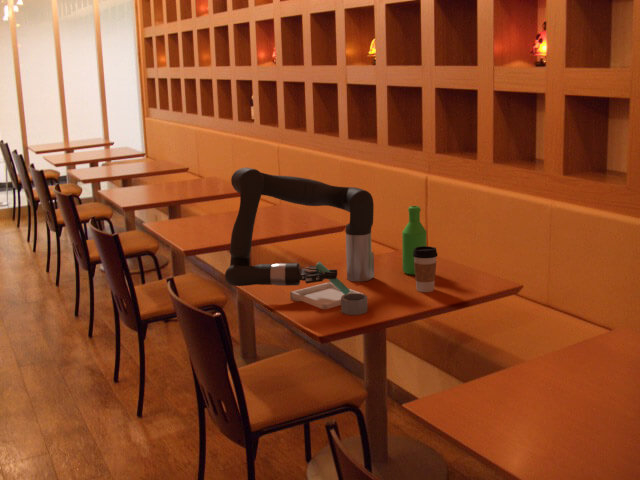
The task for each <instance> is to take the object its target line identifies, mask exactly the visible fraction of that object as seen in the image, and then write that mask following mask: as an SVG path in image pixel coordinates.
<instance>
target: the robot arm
mask: <svg viewBox="0 0 640 480" xmlns="http://www.w3.org/2000/svg"><path fill="white" fill-rule="evenodd" d="M230 182H231V186H232V187H233V189H234V190H235V191H236V192H237V194H238V193H239V196H240V199H239V201H240V202H239V209H238V212H237V216H236V219H235V221H234V224H233V226H232V231H231V237H230V245H229V254H230V264H229V267H228V268H227V269H226V271H225V273H224V278H225V281H226V282H227V283H228V284H229V285H230V286H232V287H233V286H234V287H244V286H246V287H247V286H254V285H255V286H256V285H260V286H261V285H262V286H264V285H265V286H278V287H279V286H280V287H281V286H283V287H284V286H287V287H288V286H291V287H292V286H295V287H296V286H297V287H298V286H299V285H300V283H301V281H303V282H305V284H306V285H307V284H313V283H321V282H323V281H324V280H328V279H336V278H338V269H328V270H329V271H330V272H320V271H319V270H318V269H316V268H315V266H316V265H308V266H306V267H304V268H301V265H300V263H299V262H278V263H265V264H264V263H260V264H259V263H258V264H256V265H251V261H250V260H251V258H250V257H251V251H252V243H253V235H254V229H255V228H254V227H255V223H256V217H257V212H258V209H259V205H260V202H261V197H262V196H267V197H270V198H271V197H272V198H274V199H277V200H280V201H284V202H287V203H292V204H295V205H300V206H301V205H302V206H308V207H322V206H323V207H324V206H326V207H327V206H329V207H333V208H337V209H339V210H340V209H341V210H344V211H346V212H348V213H349V223H347V224H346V225H345V254H346V255H345V257H346V280H348V281H351V282H355V283H357V282H359V283H361V282H368V281H370V280H372V279H373V278H375V253H374V252H373V250H372V249H373V248H372V227H373V226H374V225H373V224H374V209H375V208H374V207H375V206H374V198H373V196H372V194H371V193H370V192H369V191H367V190H365V189H363V188H359V187H351V186H350V187H349V186H339V185H337V186H336V185H330V184H328V183H324V182H322V181H319V180H314V179H310V178H305V177H300V176H299V177H298V176H290V175H288V176H287V175H274V174H268V173H264V172H261V171H259V170H258V169H256V168H252V167H242V168H239V169H237V170H235V171H234V172H233V173H232V176H231V178H230Z"/></svg>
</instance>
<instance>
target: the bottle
mask: <svg viewBox="0 0 640 480" xmlns="http://www.w3.org/2000/svg"><path fill="white" fill-rule="evenodd" d="M421 211H422V209H421V207H420V206H418V205H410V206H409V207H408V209H407V212H408V223H407V224H406V226H405V227H404V228H403V230H402V232H401V233H402V237H401V238H402V271H403V273H405V274H406V275H410V276H411V275H412V276H415V267H414V256H413V252H414V248H416V247H421V246H428V245H427V230H426V228H425V226H423V224H422V222H421V219H420V218H421V213H420V212H421Z"/></svg>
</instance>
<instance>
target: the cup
mask: <svg viewBox="0 0 640 480" xmlns="http://www.w3.org/2000/svg"><path fill="white" fill-rule="evenodd" d="M361 293H362V292H360V293H350V294H346V295H342V297H341V305H340V309H341V310H340V311H341V312H340V313H342V314H344V315H347V316H361V315H365V314H366V313H367V312H368V309H369V307H368V295H366V294H365V293H363V294H361ZM364 294H365V295H364Z"/></svg>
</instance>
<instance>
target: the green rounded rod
mask: <svg viewBox="0 0 640 480" xmlns="http://www.w3.org/2000/svg"><path fill="white" fill-rule="evenodd" d="M314 266H315V268H316V269H318V270H319V272H330V271H329V270H330V269H328V268H327V266H325V265H324V264H323V263H322V262H321V261H318V262H317V263H316V264H315V265H314ZM327 280H328V281H329V282H331V283H332V284H334V285H335V286H336V287H337V288H338V289H339V290H340V291H341V292H342V293H343V294H344V295H346V294H348V292H349V291H350V290H349V289H350V288H349V289H348V287H347V285H345V284H344V283H343V282H342V281H341V280H340V279H339V278H338V277H337V278H336V279H327Z"/></svg>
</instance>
